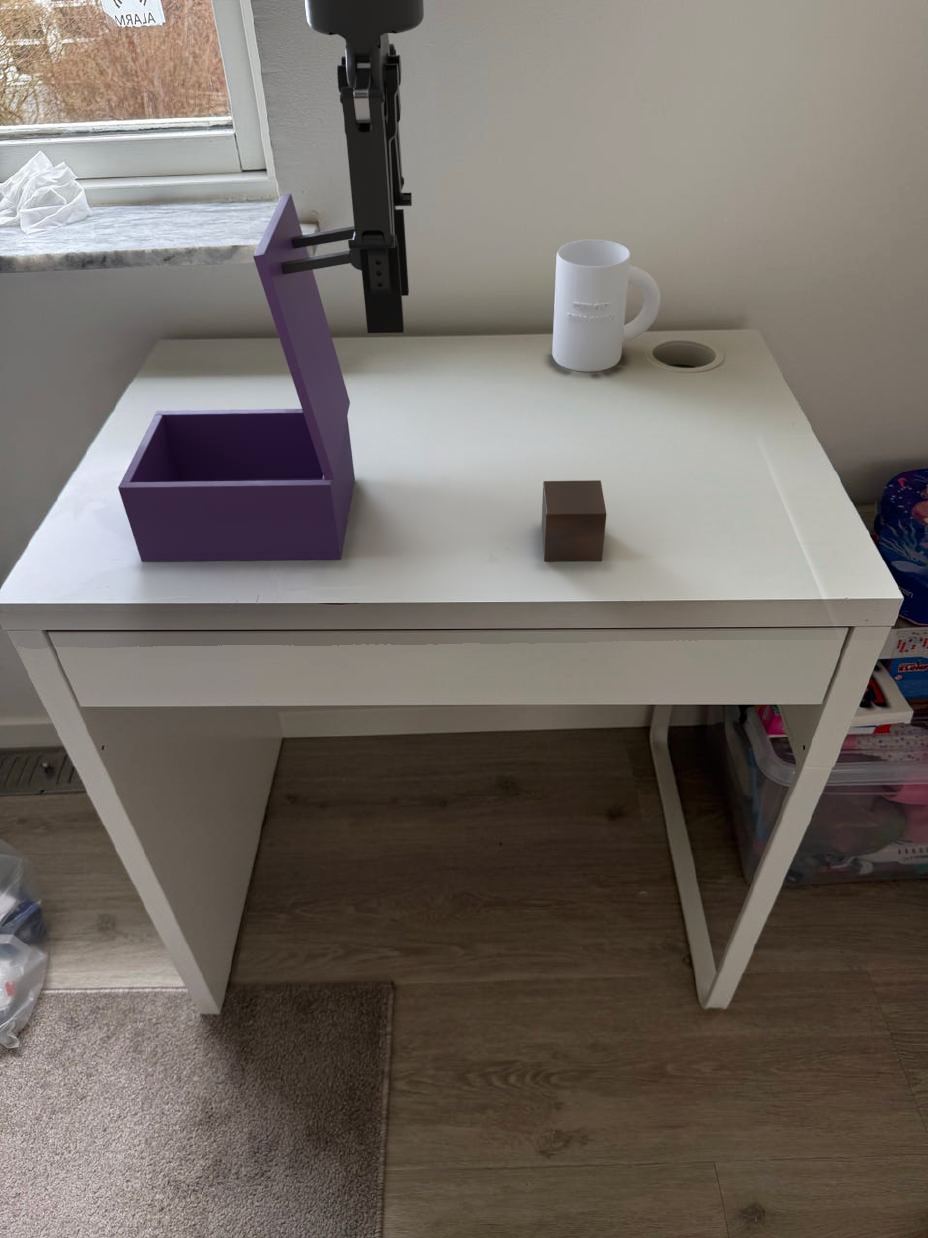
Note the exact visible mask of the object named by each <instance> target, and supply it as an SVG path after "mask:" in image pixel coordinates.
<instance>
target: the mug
mask: <svg viewBox="0 0 928 1238" xmlns="http://www.w3.org/2000/svg"><path fill="white" fill-rule="evenodd" d="M555 259H556V261H555V282H554V302H553V303H554V308H553V309H554V310H553V329H552V350H551V354H552V357H553V359H554V361H555V362H556V364H558V365H559V366H561V367H563V368H565V369H568V370H571V371H576V372H582V373H583V372H585V373H586V372H587V373H591V372H601V371H606V370H609V369H611V368H612V367H613V368H614V367H615V366H616V365H617V364H618V363H619V362H620V361H621V359H622V353H623V343H626V342H629V341H632V340H634V339H636V338H639V336H642V335H643V334H644V333H646V331H648V330H649V329H650V328H651V326H652V325H653V323H654V322H655V320H656V319H657V317H658V314H659V311H660V307H661V292H660V287H659V285H658V283H657V282H656V280H655V279H654V278H653V276H652V275H651V274H650V273H648V272H647V271H645V270H643V269H642V268H639V267H637V266H633V265H631V260H632V254H631V251H630V250H629V249H628V248H627V247H626V246H624V245H622V244H621V243H618V242H615V241H610V240H606V239H580V240H579V239H578V240H575V241H574V240H573V241H570V242H568V243H565V244H563V245H561V246H560V247H559V249H558V250H557V252H556V257H555ZM629 284H630V285H633V286H635V287H636V288H637V289H638V290H639V291H640V293H641V294H642V299H643V304H642V306H641V307H642V308H641V310H640V311H639V313H638V314H637V316H636V317H635V318H634V319H632V320H631V321H630V322H628V323H625V322H626V312H627V302H628V291H629V290H628V289H629Z"/></svg>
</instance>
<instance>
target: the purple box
mask: <svg viewBox="0 0 928 1238" xmlns="http://www.w3.org/2000/svg"><path fill="white" fill-rule="evenodd" d="M352 452H353V451H352V443H351V434H350V426H349V418H348V416H347V420H346V425H345V430H344V435H343V439H342V444H341V449H340V454H339V459H338V464H337V469H336V474H335V479H334V480H326V481H325V479H324V475H323V472H322V469H321V466H320V463H319V460H318V457H317V454H316V451H315V447H314V444H313V441H312V438H311V435H310V432H309V429H308V426H307V423H306V419H305V416H304V413H303V410H302V408H262V409H261V408H257V409H255V408H253V409H194V410H193V409H192V410H190V409H189V410H188V409H186V410H184V409H183V410H181V409H180V410H156V412H155V413H154V416H153V418H152V420H151V422H150V424H149V426H148V428H147V429H146V431H145V433H144V435H143V438H142V440H141V441H140V443H139V445H138V447H137V449H136V451H135V453H134V455H133V457H132V459H131V462H130V463H129V465H128V467H127V469H126V472H125V473H124V475H123V476H122V479H121V480H120V481H121V482H120V483H119V485H118V487H117V489H118V492H119V495H120V499H121V501H122V502H121V503H122V505H123V508H124V511H125V514H126V517H127V520H128V522H129V526H130V529H131V533H132V537H133V539H134V542H135V545H136V548H137V551H138V554H139V558H140V560H141V562H217V561H218V562H219V561H220V562H223V561H226V562H230V561H231V562H232V561H234V562H235V561H314V560H316V561H317V560H322V561H323V560H324V561H325V560H327V561H328V560H333V561H334V560H341V559H342V555H343V550H344V545H345V538H346V532H347V528H348V527H347V525H348V520H349V515H350V509H351V503H352V498H353V493H354V487H355V483H356V482H355V481H356V477H355V468H354V460H353V453H352Z"/></svg>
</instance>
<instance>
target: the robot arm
mask: <svg viewBox="0 0 928 1238" xmlns="http://www.w3.org/2000/svg"><path fill="white" fill-rule="evenodd" d="M304 4H305V14H306V21H307V23H308V25H309V27H310V28H311V29H312V30H313V31H315V32H317V33H319V34H323V35H326V36H334V35H335V36H336V35H337V36H339V37H341V38H343V39H344V41H345V55H344V56H341V59H340V60H341V61H340V64H337V66H336V67H337V68H336V70H337V71H336V73H337V76H336V77H337V89H338V92H339V101H340V104H341V105H342V114H343V123H344V124H343V127H344V134H345V139H346V147H347V148H346V150H347V160H348V161H347V162H348V171H349V172H348V173H349V182H350V193H351V206H352V216H353V226H354V228H355V236H354V239H348V240H347V244H348V248H349V250H350V249H360V259H361V269H362V270H361V279H362V289H363V299H364V308H365V319H366V331H367V334H402V333H403V334H404V333H405V332H404V331H405V325H404V324H405V323H404V307H403V297H408V296H409V293H410V291H409V290H410V289H409V287H410V286H409V275H408V274H409V273H408V271H409V270H408V256H407V242H406V226H405V211H404V209H403V208H401V209H400V208H399V209H397V207H412V205H413V197H412V196H413V195H412V194H413V193H412V192H402V190H403V188H404V185H405V177H404V176H403V164H402V150H401V137H400V124H399V123H400V121H401V113H402V104H401V93H400V91H401V90H400V87H401V85H402V84H401V83H402V60H401V55H400V54H397V49H395V44H394V43H390V38H389V34H400V33H406V32H408V31H411V30H413V29H415V28H417V27H418V26H419V25H421V23H422V22H423V20H424V16H425V12H424V11H425V10H424V9H425V7H424V0H304Z"/></svg>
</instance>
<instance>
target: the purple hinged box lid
mask: <svg viewBox="0 0 928 1238" xmlns="http://www.w3.org/2000/svg"><path fill="white" fill-rule="evenodd" d="M292 195H293V194H292V193H286V194H281V196H280V197H279V200H278V202H277V204H276V206H275V208H274V211H273V213H272V215H271V217H270V220H269V221H268V223H267V226H266V228H265V230H264V232H263V234H262V236H261V238H260V240H259V242H258V245H257V247H256V249H255V251H254V254H253V256H252V258H253V260H254V264H255V267H256V270H257V274H258V276H259V279H260V282H261V285H262V288H263V291H264V295H265V298H266V301H267V304H268V307H269V310H270V314H271V315H272V320H273V323H274V325H275V329H276V332H277V336H278V338H279V342H280V345H281V348H282V351H283V355H284V357H285V361H286V363H287V366H288V370H289V373H290V376H291V379H292V382H293V385H294V388H295V391H296V394H297V397H298V400H299V404H300V407H301V409H302V410H303V413H304V416H305V419H306V423H307V426H308V429H309V432H310V435H311V438H312V441H313V444H314V447H315V451H316V454H317V457H318V460H319V463H320V466H321V469H322V472H323V475H324V479H325V481H326V480H334V479H335V474H336V469H337V464H338V459H339V454H340V449H341V444H342V439H343V435H344V430H345V425H346V420H347V417H348V415H349V410H350V405H351V401H350V398H349V393H348V391H347V386H346V383H345V380H344V376H343V373H342V369H341V366H340V362H339V358H338V355H337V351H336V348H335V344H334V341H333V337H332V333H331V329H330V326H329V322H328V319H327V316H326V313H325V309H324V305H323V302H322V299H321V298H322V297H321V294H320V291H319V288H318V284H317V280H316V277H315V276H316V275H315V273H314V270H320V269H325V268H330V267H336V266H343V265H348V264H349V265H350V264H351V266H352V267H353V268H355V269H356V270H358V271H362V269H361V259H360V249H349V250H344V251H339V252H334V253H327V254H321V255H315V256H309V251H308V249H307V248H308V247H313V246H319V245H324V244H330V243H336V242H341V241H348V240H352V239H354V236H355V228H354V225H353V226H348V227H342V228H337V229H331V230H324V231H317V232H312V233H307V234H303V231H302V228H301V227H302V226H301V224H300V220H299V217H298V216H299V215H298V212H297V209H296V206H295V202H294V199H293V196H292Z"/></svg>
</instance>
